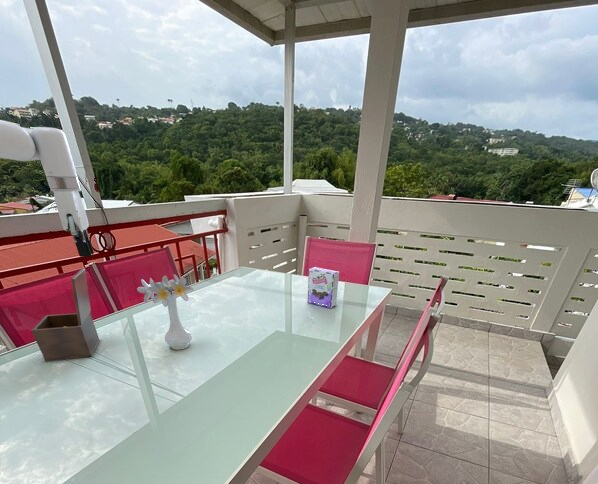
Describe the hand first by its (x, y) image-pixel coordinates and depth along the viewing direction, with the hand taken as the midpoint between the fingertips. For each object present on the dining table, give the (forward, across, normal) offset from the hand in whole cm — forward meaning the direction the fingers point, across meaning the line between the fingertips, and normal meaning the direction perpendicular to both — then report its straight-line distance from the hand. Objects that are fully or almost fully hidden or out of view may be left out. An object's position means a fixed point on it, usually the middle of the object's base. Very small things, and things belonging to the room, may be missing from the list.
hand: (86, 254), depth 102 cm
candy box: (+31, -29, +90) cm, 99 cm away
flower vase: (+31, +5, +22) cm, 38 cm away
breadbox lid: (+13, 0, -6) cm, 14 cm away
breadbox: (+31, 0, -14) cm, 34 cm away
